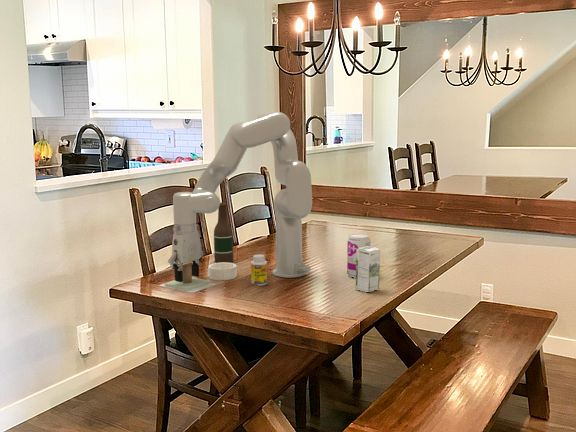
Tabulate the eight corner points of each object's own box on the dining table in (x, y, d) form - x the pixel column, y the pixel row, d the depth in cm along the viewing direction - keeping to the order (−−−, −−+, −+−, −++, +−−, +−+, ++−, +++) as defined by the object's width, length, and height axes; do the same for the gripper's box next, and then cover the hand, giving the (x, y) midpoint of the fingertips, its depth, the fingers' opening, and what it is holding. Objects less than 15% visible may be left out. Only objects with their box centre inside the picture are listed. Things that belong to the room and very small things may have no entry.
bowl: (242, 276, 224) (241, 264, 223) (224, 283, 216) (223, 270, 215) (221, 272, 230) (221, 261, 229) (203, 279, 222) (202, 266, 221)
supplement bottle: (252, 286, 211) (252, 257, 210) (250, 282, 217) (249, 254, 215) (268, 285, 213) (268, 256, 211) (265, 281, 218) (265, 253, 216)
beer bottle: (230, 265, 242) (228, 204, 237) (211, 264, 243) (209, 204, 239) (236, 260, 249) (234, 201, 245) (217, 259, 251) (215, 201, 246)
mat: (216, 285, 213) (216, 284, 213) (192, 294, 203) (192, 292, 203) (183, 279, 222) (183, 277, 222) (158, 287, 212) (158, 285, 212)
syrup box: (366, 286, 210) (366, 245, 208) (379, 290, 206) (380, 248, 204) (355, 290, 206) (355, 248, 204) (368, 293, 202) (369, 250, 200)
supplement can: (355, 280, 218) (356, 239, 216) (343, 274, 226) (343, 234, 223) (374, 277, 222) (375, 236, 219) (361, 272, 229) (361, 232, 227)
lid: (210, 283, 214) (209, 263, 213) (187, 291, 205) (187, 270, 204) (187, 278, 220) (186, 259, 219) (164, 286, 211) (163, 266, 210)
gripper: (174, 233, 200) (176, 286, 203) (210, 225, 214) (212, 274, 217) (158, 231, 204) (160, 283, 207) (195, 223, 218) (196, 271, 221)
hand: (187, 278), depth 212 cm, fingers open, 7 cm apart
